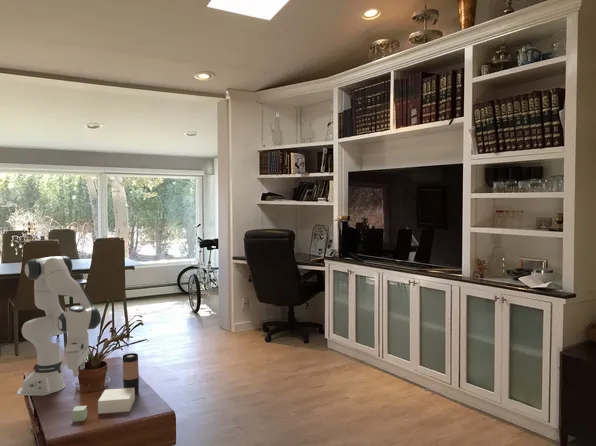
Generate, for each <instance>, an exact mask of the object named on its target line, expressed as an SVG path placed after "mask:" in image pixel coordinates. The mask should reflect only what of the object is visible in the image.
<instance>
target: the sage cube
mask: <svg viewBox="0 0 596 446" xmlns="http://www.w3.org/2000/svg"><path fill="white" fill-rule="evenodd" d="M71 412H72V415H71V416H72V422H73V423H74V422H85V421H86V419H87V418H88V405H76V406H75V407H74V408H73V409H72V411H71Z"/></svg>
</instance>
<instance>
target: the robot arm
mask: <svg viewBox="0 0 596 446" xmlns="http://www.w3.org/2000/svg"><path fill="white" fill-rule="evenodd" d="M72 271H73V262H72V259H71V258H70V257H69V256H66V255H61V256H47V257H40V258H32V259H29V260H27V261H26V263H25V265H24V274H25V276H26V278H28V280H31V281H34V282H33V284H34V285H33V290H34V291H33V295H34V296H33V297H34V305H35V307H36V308H37V309H39V310H42V311H44V312H45V316H41V317H36V318H32V319H30V320H28V321H25V322H24V323H23V325H22V327H21V334H22V337H23V338H24V339H25V340H27V342H28V341H29V342H30V343H31V344H33V346H34V347H35V350H36V357H37V359H36V360H37V361H36V363H35V364H34V365H33V367H32V370H33V372H31V373H29V374H28V376H26V377H25V378H24V380H23V381H22V384H21V385H22V386H21V387H19V389H18V390H17V392H16V395H17V396H38V397H39V396H41V397H42V396H44V397H45V396H47V395H51V394H52V393H58V392H60V391H61V390H63V389H65V387H66V384H65V381H64V377H63V361H62V355H61V354H62V351H61V346H60V345H59V344H57V343H55V342H52V340H51V337H55V336H58V335H61V334H62V335H63V334H65V333H67V335H66V340H67V341H66V344H65V347H64V351H65V352H66V364H67V369H68V370H72V373H73V377H74V378H75V377H78V376H79V375H80V374H79V372H80V371H79V370H84V369H85V366H86V365H85V364H86V359H87V357H89V353H90V352H89V345H90V342H89V341H90V339H89V332H88V330H94V329H96V328H97V327H99V325H100V324H101V321H102V320H101V319H102V317H101V313H100V311H99V310H98V309H97V308H96V306H95V305H94V303H93V301H92V299H91V297H90V296H89V294H88V292H87V291H86V290H85V287H84V286H83V285H82V283H80V282H78V281H76V280H75V279H74V278H73V277H72V276H71V273H72ZM59 296H67V297H71V298H74V299H76V300H77V301H78V302H79V304H80V305H73V306H70V307H69V308H67V310H66V311H65V310H63V308H62V307H61V304H60V298H59Z"/></svg>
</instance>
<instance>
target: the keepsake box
mask: <svg viewBox="0 0 596 446" xmlns="http://www.w3.org/2000/svg"><path fill="white" fill-rule="evenodd" d="M135 400H136V395H135V390H134V388H124V387H123V388H109V389H104V390H103V392H102V393H101V396H100V397H99V399H98V400H97V411H98V415H99V414H110V413H124V412H125V413H126V412H130V411H131V409H132V407H133V404H134V402H135Z"/></svg>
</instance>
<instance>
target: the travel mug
mask: <svg viewBox="0 0 596 446" xmlns="http://www.w3.org/2000/svg"><path fill="white" fill-rule="evenodd" d="M122 383H123V385H122V386H123V388H134V390H135V396H137V395H138V394H139V393H140V391H139V389H140V387H139V385H140V374H139V355H138V353H137V352H136V353H134V352H130V353H126V354H123V355H122Z"/></svg>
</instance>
